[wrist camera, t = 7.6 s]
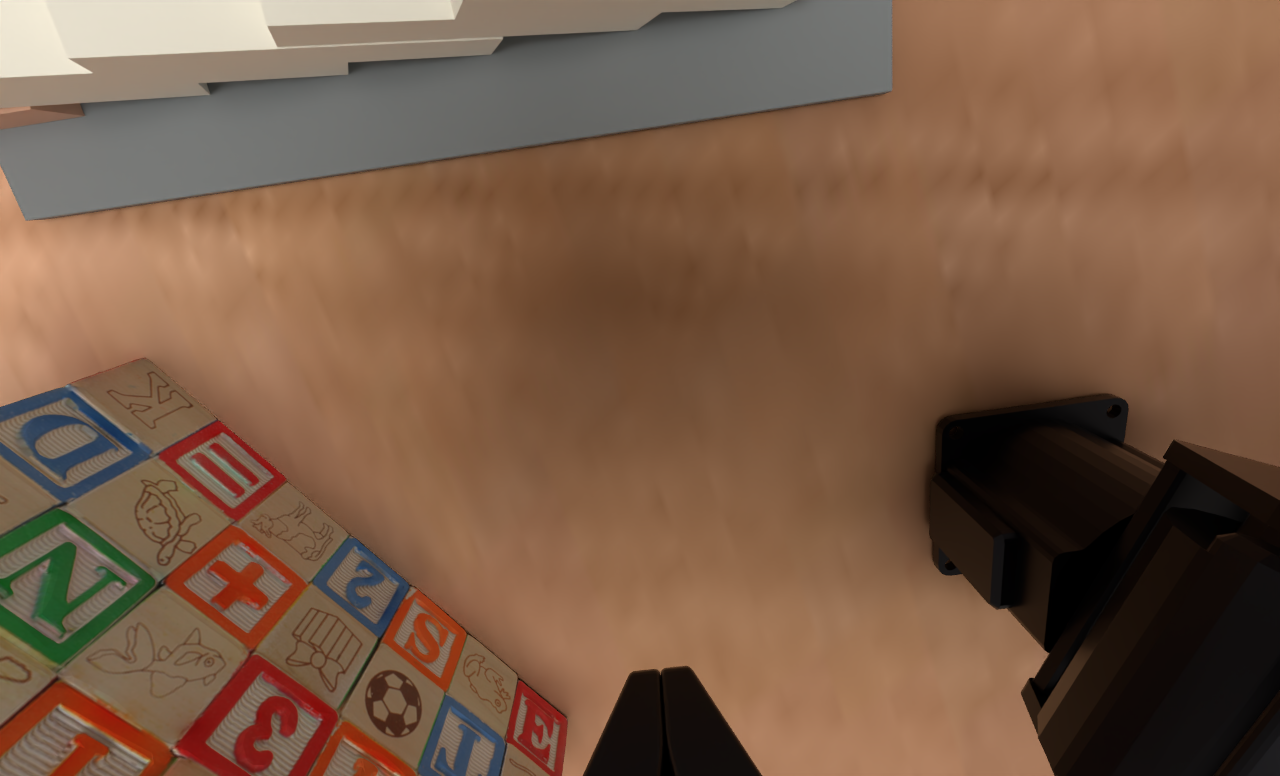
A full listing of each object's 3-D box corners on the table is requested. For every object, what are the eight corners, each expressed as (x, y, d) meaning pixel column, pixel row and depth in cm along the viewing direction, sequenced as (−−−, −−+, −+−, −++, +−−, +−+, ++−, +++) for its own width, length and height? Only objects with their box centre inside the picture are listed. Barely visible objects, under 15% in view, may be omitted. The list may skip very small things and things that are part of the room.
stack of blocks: (574, 714, 25) (532, 1160, 14) (471, 786, 27) (353, 1252, 15) (143, 351, 20) (-540, 584, 8) (37, 462, 21) (-689, 803, 9)
